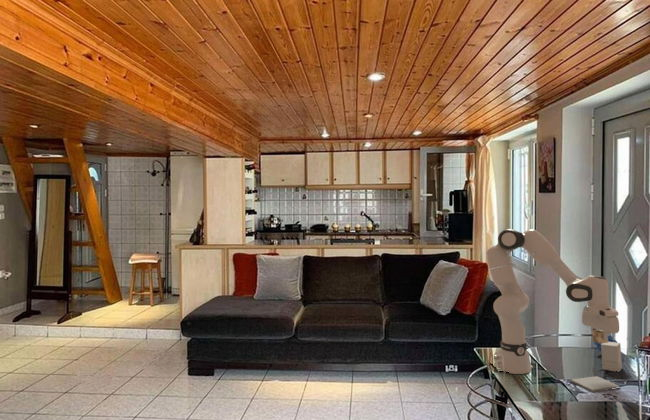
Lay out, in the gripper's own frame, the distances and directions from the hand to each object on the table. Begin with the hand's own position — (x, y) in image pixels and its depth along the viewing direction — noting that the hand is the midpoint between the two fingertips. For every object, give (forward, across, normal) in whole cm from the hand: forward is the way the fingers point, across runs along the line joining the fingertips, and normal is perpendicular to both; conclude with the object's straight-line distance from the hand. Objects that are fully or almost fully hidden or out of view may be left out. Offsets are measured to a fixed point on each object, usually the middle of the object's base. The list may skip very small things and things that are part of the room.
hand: (600, 338), depth 229 cm
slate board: (+18, +8, -11) cm, 23 cm away
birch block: (+2, 0, 0) cm, 2 cm away
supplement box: (+18, -8, +12) cm, 23 cm away
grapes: (+18, -27, +25) cm, 41 cm away
